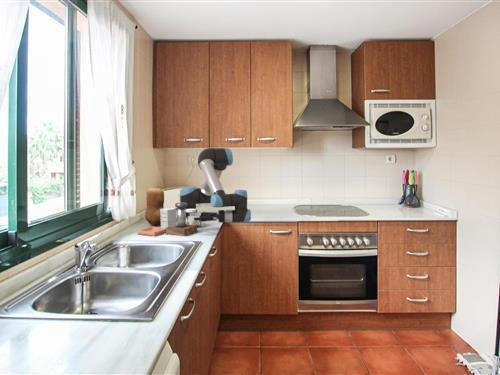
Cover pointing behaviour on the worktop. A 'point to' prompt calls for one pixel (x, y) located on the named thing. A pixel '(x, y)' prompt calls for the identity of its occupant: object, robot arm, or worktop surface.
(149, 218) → the butternut squash
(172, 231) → the bore block
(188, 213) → the spread jar
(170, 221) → the supplement box
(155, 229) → the tray
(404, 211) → the worktop surface
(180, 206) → the metal plug
